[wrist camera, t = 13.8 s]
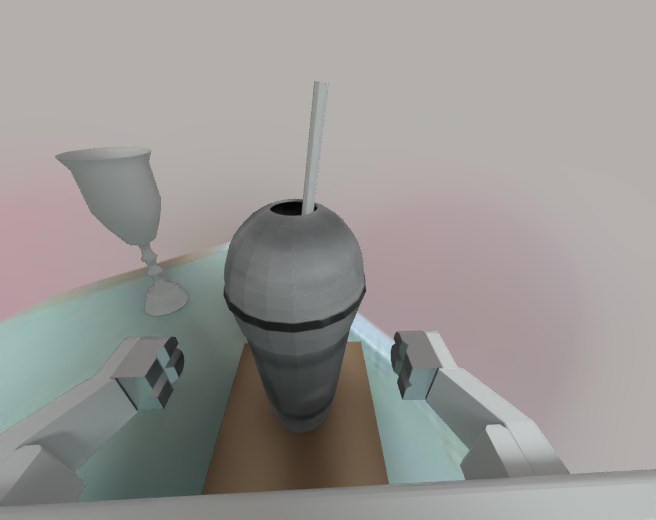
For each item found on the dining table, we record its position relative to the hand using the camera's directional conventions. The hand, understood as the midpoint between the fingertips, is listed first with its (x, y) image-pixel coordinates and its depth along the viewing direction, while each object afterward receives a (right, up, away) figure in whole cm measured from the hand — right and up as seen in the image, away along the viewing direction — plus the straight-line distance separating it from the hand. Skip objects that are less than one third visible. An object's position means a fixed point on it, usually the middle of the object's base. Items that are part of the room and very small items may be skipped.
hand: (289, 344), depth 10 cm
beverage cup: (-1, -8, +10) cm, 13 cm away
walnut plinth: (-1, -10, +11) cm, 15 cm away
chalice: (-19, -2, +23) cm, 30 cm away
